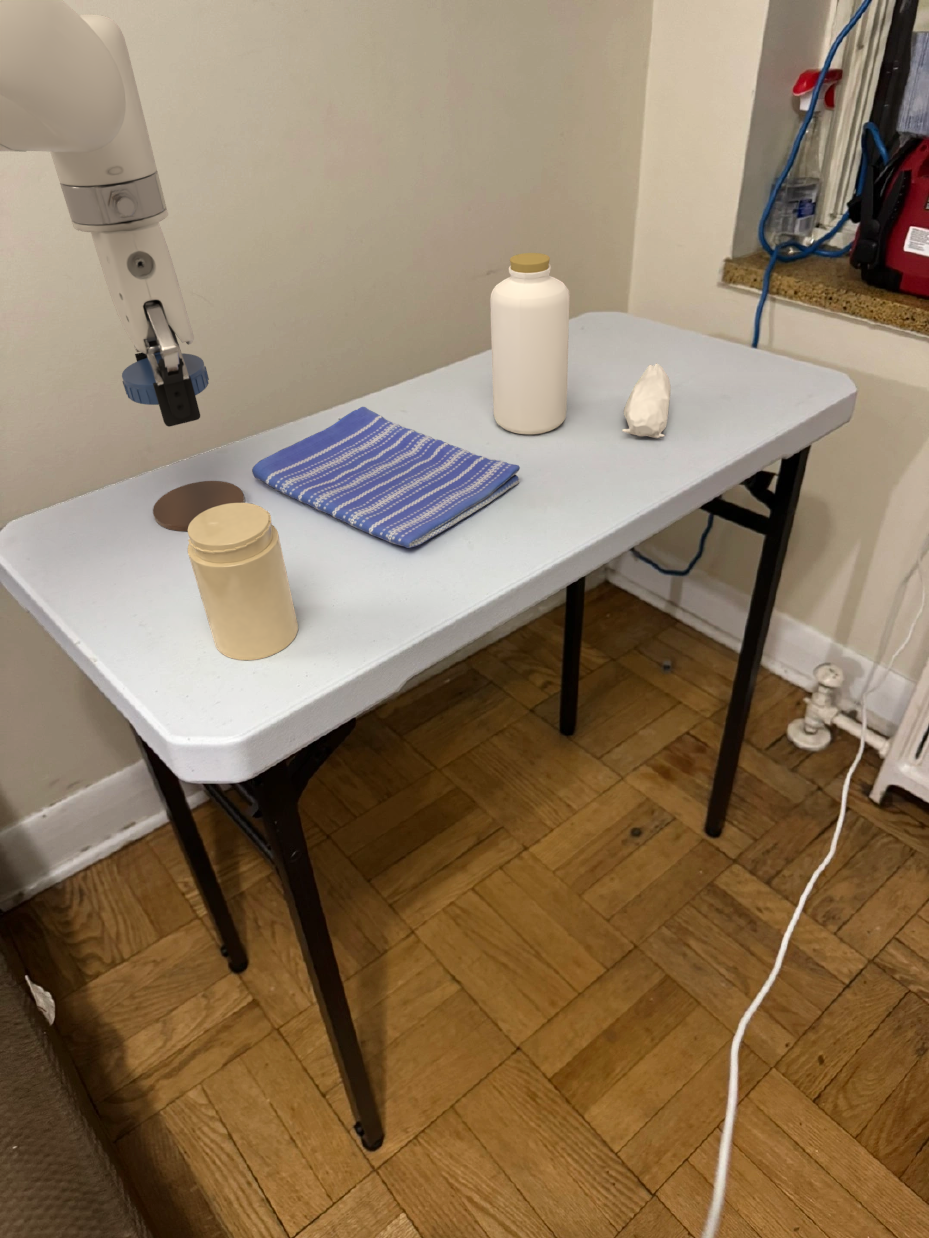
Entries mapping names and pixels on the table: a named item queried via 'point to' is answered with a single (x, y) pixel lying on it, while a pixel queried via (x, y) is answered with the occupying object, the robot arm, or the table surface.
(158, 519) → the coaster
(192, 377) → the lid
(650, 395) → the bird figurine
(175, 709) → the table surface
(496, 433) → the table surface
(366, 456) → the dish towel
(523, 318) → the potion bottle
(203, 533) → the jar
